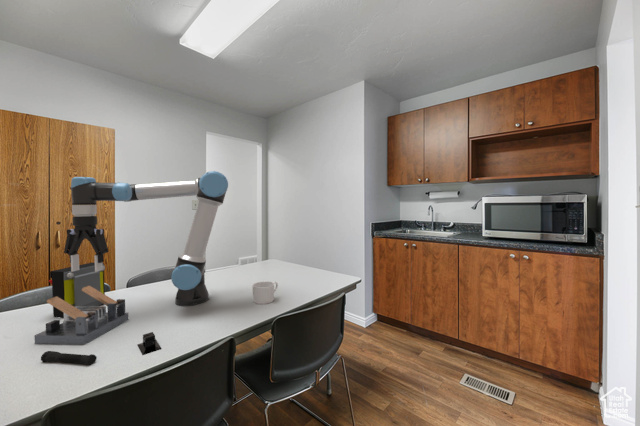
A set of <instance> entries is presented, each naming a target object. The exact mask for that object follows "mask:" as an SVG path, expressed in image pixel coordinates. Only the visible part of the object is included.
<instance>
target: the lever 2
mask: <svg viewBox="0 0 640 426" xmlns="http://www.w3.org/2000/svg"><path fill="white" fill-rule="evenodd" d="M82 291H83V292H85V293H87V294H88V295H90V296H92V297H93V298H95V299H97V300H98V301H100V302H102V303H103V304H102V305H105V306H107V304H108V303H116V305H117V304H118V302H117V300H114V298H111V297H109V296H108V295H106V294H103V293H101V292H100V291H98V290H96V289H94V288H93V287H91V286H87V287H84V288H82Z"/></svg>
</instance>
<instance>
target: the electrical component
mask: <svg viewBox="0 0 640 426" xmlns="http://www.w3.org/2000/svg"><path fill="white" fill-rule="evenodd" d="M102 265H103V270H101V271H97V272H95V262H87V263H84V264H82V263H81V264H79V270H77V271H73V272H71V266H69V267H64V268H60V269H59V268H58V269H55V270H50V271H49V277H50V279H49V280H48V282H49V283H50V284H51V288H52V290H51V291H52V298H53V297H56V296H57V297H59V298H60V299H62V300H64V301H65V302H67V303H69V304H70V305H72V306H74V307H76V306H102V305H104V304H103V303H102V302H100V301H98V300H97V299H95V298H93V297H92V296H90V295H88V294H87V293H85V292H83V291H82V288H84V287H87V286H91V287H93V288H94V289H96V290H98V291H100V292H101V293H103V294H105V269H106V266H105V264H104V262H102ZM105 295H106V294H105ZM52 311H53V313H52V314H53V315H52V316H53V318H58V317H60V319H64V312H62V311H60V310H59V309H57V308H55V307H54V306H52Z"/></svg>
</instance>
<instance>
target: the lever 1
mask: <svg viewBox="0 0 640 426" xmlns="http://www.w3.org/2000/svg"><path fill="white" fill-rule="evenodd" d="M46 303H47V304H49V305H51V306H52V307H53V306H54V307H55V308H57V309H59V310H60V311H62V312H64V313H65V314H67V315H69V316H70V317H72V318H74V319H75V320H76V317H86V319H87V318H88V317H89V315H87V314H85V313H84V312H82V311H80V310H79V309H77V308H75V307H74V306H72V305H70V304H69V303H67V302H65V301H64V300H62V299H60V298H59V297H57V296H56V297H53V296H52V297H51V298H47V300H46Z"/></svg>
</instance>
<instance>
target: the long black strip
mask: <svg viewBox="0 0 640 426" xmlns="http://www.w3.org/2000/svg"><path fill="white" fill-rule="evenodd" d="M97 357H98V356H96V354H89V355H88V354H80V353H79V354H78V353H76V354H75V353H67V352H66V353H65V352H64V353H62V352H59V351H54V350H47V351H45V352H43V353H42V355H41V356H40V361H41V362H44V363H45V362H46V363H55V362H56V363H57V362H60V363H70V364H71V363H72V364H82V365H83V364H84V365H87V366H91V365H92V364H95V363H96V361H97Z"/></svg>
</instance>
